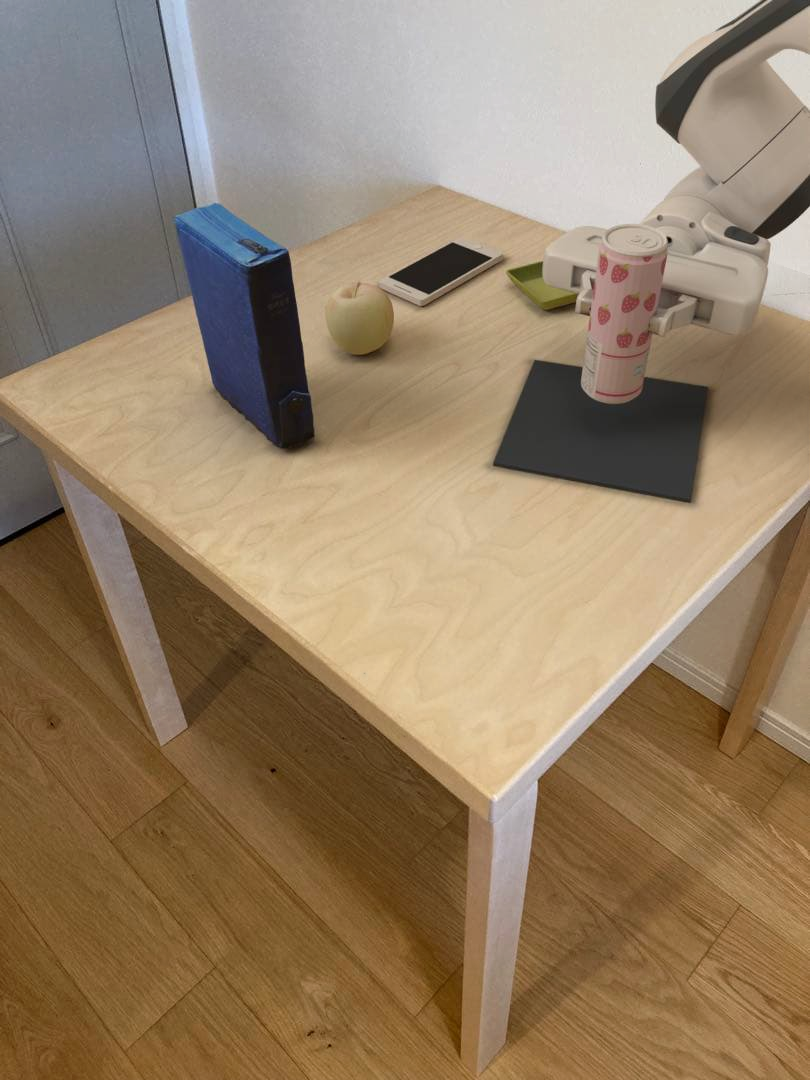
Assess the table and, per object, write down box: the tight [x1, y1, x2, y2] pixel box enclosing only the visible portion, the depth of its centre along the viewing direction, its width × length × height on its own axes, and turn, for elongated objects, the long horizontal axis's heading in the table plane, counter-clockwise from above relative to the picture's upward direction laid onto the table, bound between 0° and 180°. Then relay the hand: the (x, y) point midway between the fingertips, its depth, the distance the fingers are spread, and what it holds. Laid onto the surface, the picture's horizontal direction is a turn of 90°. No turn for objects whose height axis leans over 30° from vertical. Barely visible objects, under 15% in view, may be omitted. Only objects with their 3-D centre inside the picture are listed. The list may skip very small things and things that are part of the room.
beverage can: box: [581, 223, 668, 404], centre depth 79 cm, size 6×6×15 cm
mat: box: [492, 359, 709, 503], centre depth 87 cm, size 18×18×1 cm
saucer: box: [505, 260, 579, 311], centre depth 105 cm, size 9×9×2 cm
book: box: [173, 202, 316, 450], centre depth 83 cm, size 14×5×20 cm, turn 37°
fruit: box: [324, 281, 395, 356], centre depth 96 cm, size 8×7×8 cm
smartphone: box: [378, 236, 504, 307], centre depth 110 cm, size 7×15×1 cm, turn 137°
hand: (619, 317), depth 78 cm, fingers closed on beverage can, 5 cm apart
